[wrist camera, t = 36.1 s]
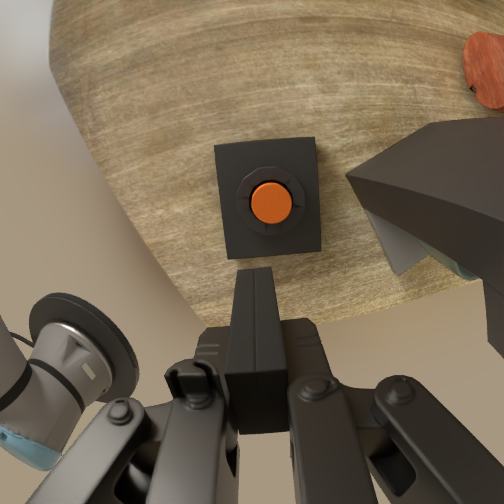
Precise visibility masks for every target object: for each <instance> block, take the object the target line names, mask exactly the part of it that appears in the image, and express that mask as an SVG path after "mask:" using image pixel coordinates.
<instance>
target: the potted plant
mask: <svg viewBox="0 0 504 504" xmlns="http://www.w3.org/2000/svg"><path fill="white" fill-rule="evenodd" d="M463 69H464V73H465V77H466V81H467V84H468V87H469V89H471V90H472V91H473V92H474V93H475V94H476V95H475V98H476V99H477V100H478V101H479V102H480V103H481V104H483V105H484V106H486V107H488V108H490V109H493V110H497V111H500V112H503V113H504V36H503V35H497V34H491V33H485V32H476V33H475V34H473V35H472V36H471V37H470V38H469V39H468V40H467V42H466V44H465V46H464V51H463Z"/></svg>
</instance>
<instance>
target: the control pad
mask: <svg viewBox="0 0 504 504" xmlns="http://www.w3.org/2000/svg"><path fill="white" fill-rule="evenodd" d="M214 152H215V161H216V170H217V178H218V187H219V195H220V204H221V212H222V220H223V227H224V235H225V243H226V250H227V258H228V260H230V259H241V258H253V257H264V256H276V255H287V254H298V253H309V252H320V251H321V225H320V202H319V185H318V170H317V157H316V146H315V137H298V138H281V139H267V140H256V141H245V142H236V143H228V144H220V145H214ZM270 182H272V183H277V184H279V185H281V186H283V187H284V188H285V189H286V190H287V192H288V193H289V195H290V197H291V200H292V207H291V211H290V213H289V215H288V216H287V217H286V218H285V219H284V220H282V221H281V222H278V223H274V224H270V223H265V222H263V221H261V220H259V219H258V218H257V217H256V216H255V214H254V212H253V210H252V196H253V193H254V192H255V190H256V189H257V188H258V187H259V186H260V185H262V184H265V183H270Z"/></svg>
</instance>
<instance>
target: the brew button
mask: <svg viewBox="0 0 504 504" xmlns="http://www.w3.org/2000/svg"><path fill="white" fill-rule="evenodd" d="M291 207H292V200H291V197H290V195H289V193H288V192H287V190H286V189H285V188H284V187H283V186H281V185H279V184H277V183H272V182H270V183H265V184H262V185H260V186H259V187H258V188H257V189H256V190H255V192H254V193H253V196H252V210H253V212H254V214H255V216H256V217H257V218H258V219H259V220H261V221H263V222H265V223H270V224H274V223H278V222H281V221H282V220H284V219H285V218H286V217H287V216H288V215H289V213H290V211H291Z"/></svg>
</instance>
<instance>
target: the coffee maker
mask: <svg viewBox="0 0 504 504" xmlns="http://www.w3.org/2000/svg"><path fill="white" fill-rule="evenodd" d="M345 175H346V177H347V179H348V181H349V183H350V184H351V186H352V188H353V190H354V192H355V194H356V195H357V197H358V199H359V201H360V203H361V205H362V207H363V208H364V210H365V212H366V214H367V216H368V218H369V220H370V222H371V224H372V227H373V229H374V231H375V233H376V235H377V237H378V239H379V241H380V243H381V246H382V248H383V250H384V252H385V254H386V257H387V259H388V261H389V264H390V266H391V268H392V271H393V272H394V273H395V274H396V275H397V276H399V275H401V274H402V273H404V272H405V271H407V270H408V269H410V268H411V267H412V266H414V265H415V264H417V263H418V262H420V261H421V260H422V259H424V258H425V257H426V256H428V255H429V254H428V253H427V252H426V251H425V250H424V248H423V247H422V246H421V245H420V243H419V241H418V240H417V238H418V239H420V240H421V241H423V242H425V243H426V244H428V245H430V246H431V247H433V248H435V249H436V250H438V251H439V252H441V253H443V254H444V255H446V256H447V257H449V258H450V259H452V260H454V261H455V262H457V263H458V264H460V265H461V266H463V267H464V268H466V269H467V270H469V271H470V272H472V273H473V274H475V275H476V276H478V277H479V278H480V279H482V280H483V287H484V295H485V305H486V316H487V335H488V342H489V343H490V344H491V345H492V346H493V347H494V348H495V349H496V351H497V352H498V353H499V354H500V355H501V356H502V357H503V358H504V117H491V118H474V119H461V120H451V121H441V122H433V123H429V124H428V125H426V126H424V127H423V128H421V129H419V130H418V131H416V132H414V133H412V134H411V135H409V136H407V137H406V138H404V139H402V140H401V141H399V142H397V143H396V144H394V145H392V146H391V147H389V148H387V149H386V150H384V151H382V152H381V153H379V154H377V155H376V156H374V157H372V158H371V159H369V160H368V161H366V162H364V163H363V164H361V165H359V166H358V167H356V168H354V169H353V170H351V171H350V172H348V173H346V174H345Z"/></svg>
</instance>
